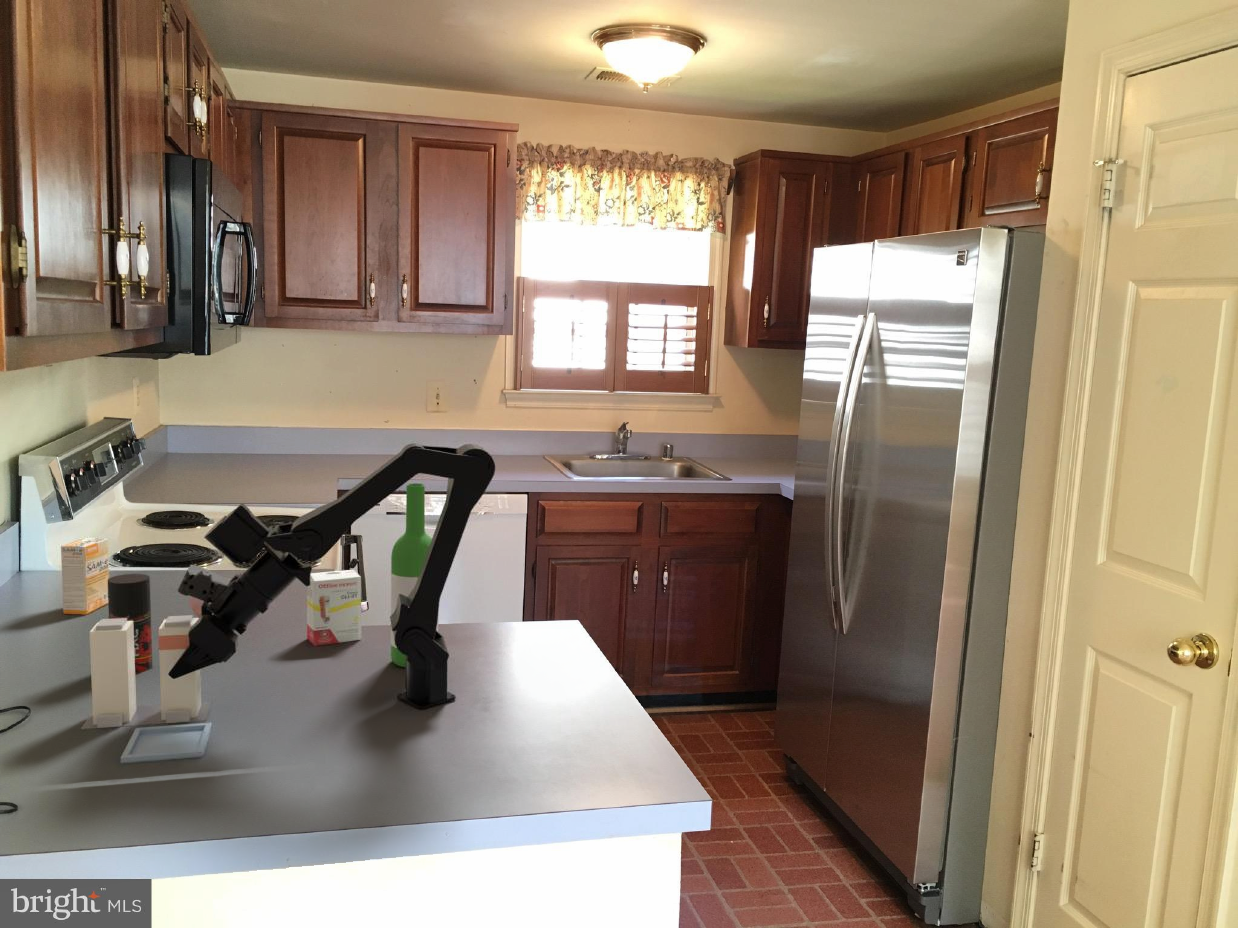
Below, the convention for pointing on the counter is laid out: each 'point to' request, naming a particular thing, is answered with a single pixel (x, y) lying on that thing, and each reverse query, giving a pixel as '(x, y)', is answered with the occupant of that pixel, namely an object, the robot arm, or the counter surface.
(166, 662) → the block
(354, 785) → the counter surface
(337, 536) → the robot arm
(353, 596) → the ink box
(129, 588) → the deodorant
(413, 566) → the wine bottle
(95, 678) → the block
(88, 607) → the supplement box
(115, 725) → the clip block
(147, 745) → the tray
